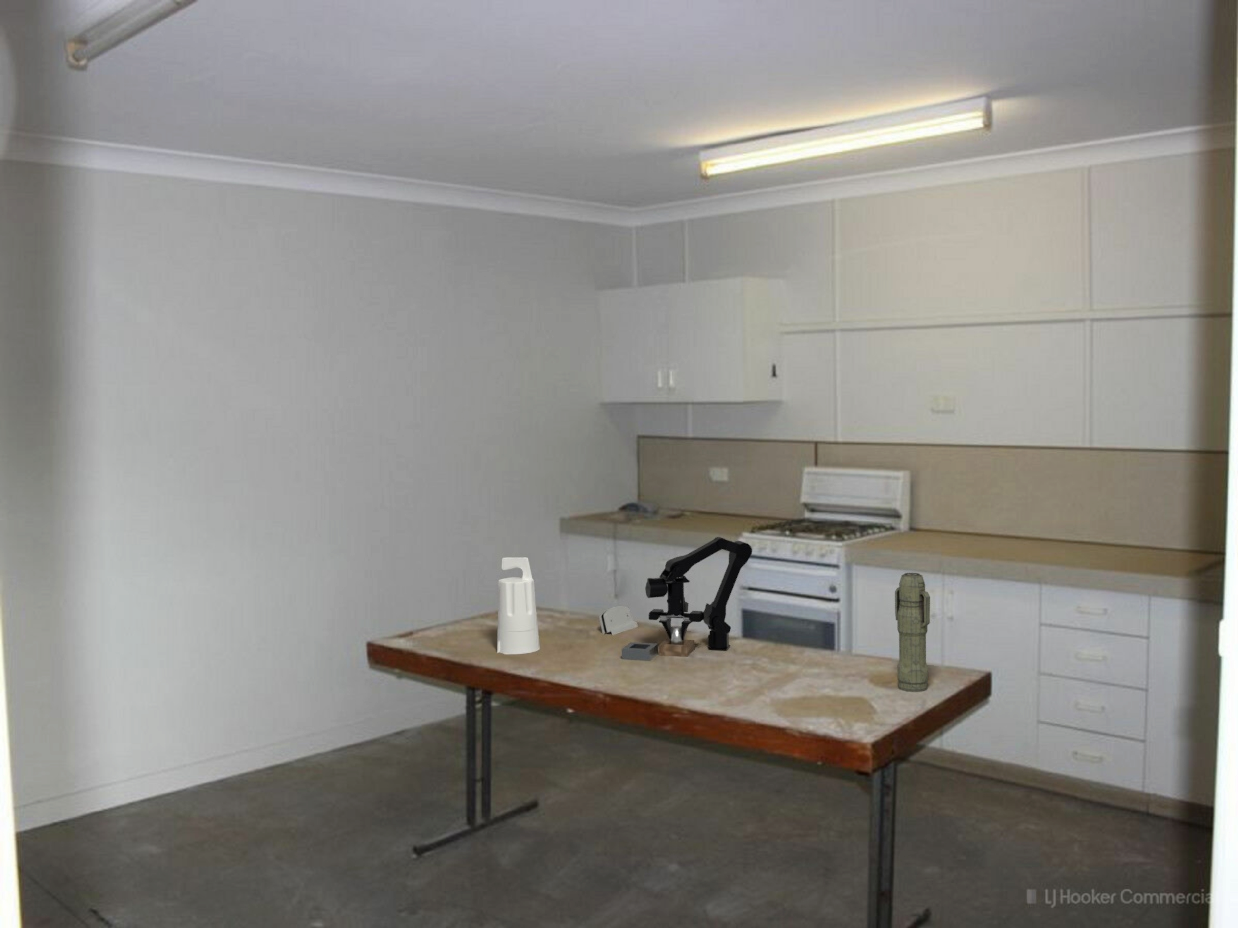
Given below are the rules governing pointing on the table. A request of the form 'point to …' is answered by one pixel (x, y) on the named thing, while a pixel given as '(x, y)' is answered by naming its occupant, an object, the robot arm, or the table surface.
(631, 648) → the block
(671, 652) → the socket block
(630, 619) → the hinge
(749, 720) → the table surface
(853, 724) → the table surface
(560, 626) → the table surface
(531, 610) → the white hook-topped canister
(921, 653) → the thermos
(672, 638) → the metal cylinder peg
